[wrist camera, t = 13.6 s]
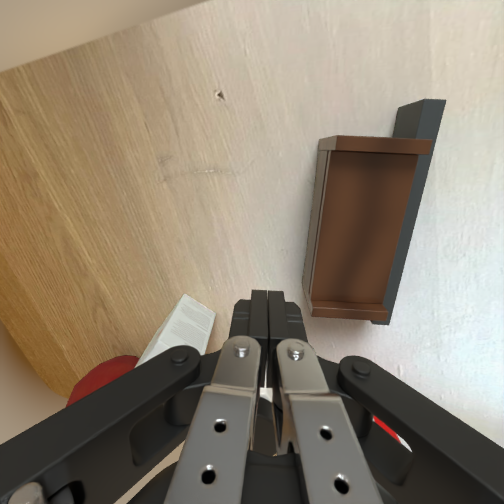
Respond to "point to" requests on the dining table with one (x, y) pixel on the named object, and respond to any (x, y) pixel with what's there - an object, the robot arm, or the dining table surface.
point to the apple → (102, 376)
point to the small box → (182, 329)
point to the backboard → (413, 127)
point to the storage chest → (357, 222)
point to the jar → (264, 424)
